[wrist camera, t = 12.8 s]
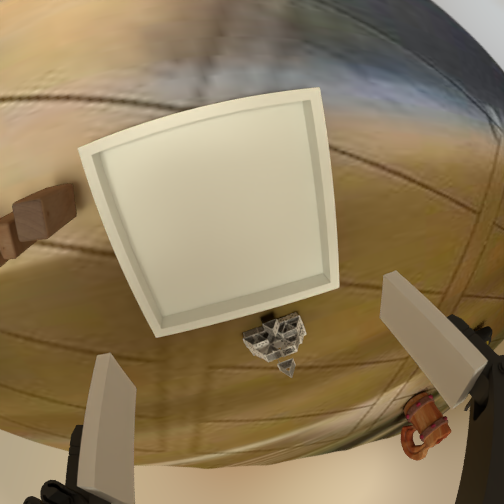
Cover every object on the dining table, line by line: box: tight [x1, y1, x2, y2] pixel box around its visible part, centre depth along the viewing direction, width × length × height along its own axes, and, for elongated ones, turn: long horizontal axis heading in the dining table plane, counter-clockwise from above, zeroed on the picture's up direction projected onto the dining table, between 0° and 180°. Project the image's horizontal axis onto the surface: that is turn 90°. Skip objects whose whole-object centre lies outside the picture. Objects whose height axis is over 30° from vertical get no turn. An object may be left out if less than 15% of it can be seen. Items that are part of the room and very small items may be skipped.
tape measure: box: [475, 326, 492, 345], centre depth 49 cm, size 7×7×4 cm
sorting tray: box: [78, 87, 339, 338], centre depth 26 cm, size 20×20×3 cm
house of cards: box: [243, 312, 306, 378], centre depth 31 cm, size 9×9×8 cm
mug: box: [401, 392, 451, 460], centre depth 52 cm, size 15×8×15 cm, turn 156°
